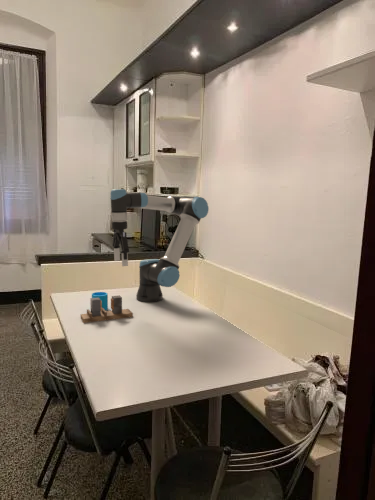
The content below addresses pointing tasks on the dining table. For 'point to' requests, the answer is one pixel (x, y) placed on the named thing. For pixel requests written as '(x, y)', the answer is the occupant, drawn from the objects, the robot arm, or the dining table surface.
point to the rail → (109, 312)
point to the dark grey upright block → (96, 306)
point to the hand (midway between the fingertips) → (121, 263)
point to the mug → (102, 298)
